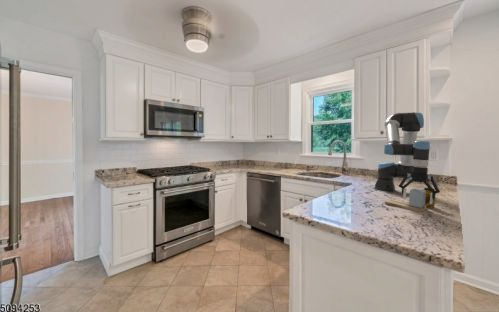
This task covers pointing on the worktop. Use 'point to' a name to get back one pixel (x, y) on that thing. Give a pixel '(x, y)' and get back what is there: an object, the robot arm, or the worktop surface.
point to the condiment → (427, 199)
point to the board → (403, 205)
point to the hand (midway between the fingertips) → (417, 201)
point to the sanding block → (417, 198)
